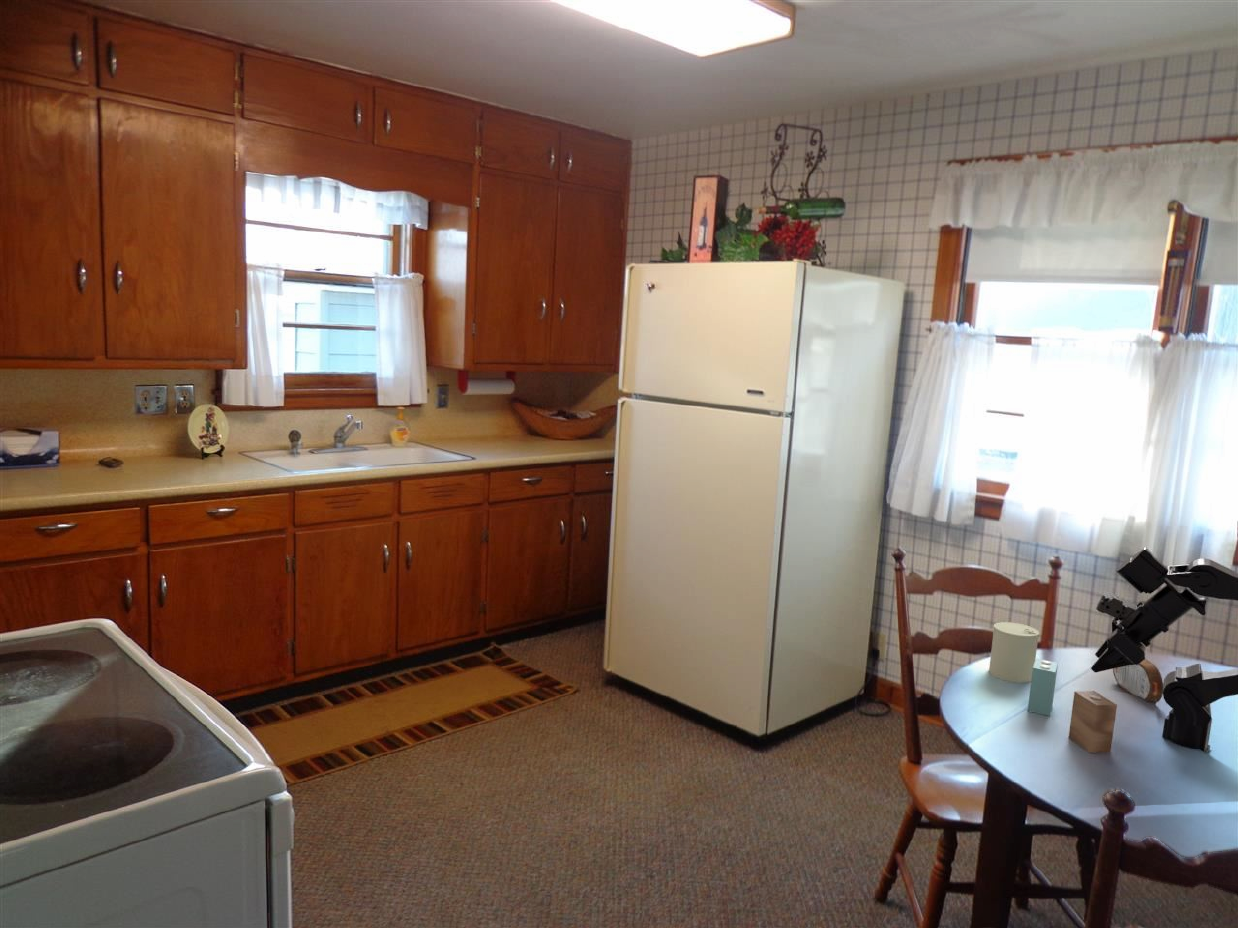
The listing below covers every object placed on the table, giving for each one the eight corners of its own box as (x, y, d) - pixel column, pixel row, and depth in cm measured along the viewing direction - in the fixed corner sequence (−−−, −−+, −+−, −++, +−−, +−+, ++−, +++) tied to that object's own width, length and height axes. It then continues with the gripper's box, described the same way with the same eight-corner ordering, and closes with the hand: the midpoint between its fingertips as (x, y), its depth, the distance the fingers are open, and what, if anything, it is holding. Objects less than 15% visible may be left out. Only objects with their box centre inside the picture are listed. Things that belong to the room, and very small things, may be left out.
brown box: (1088, 736, 164) (1094, 690, 162) (1110, 752, 158) (1117, 703, 156) (1068, 737, 163) (1074, 690, 162) (1090, 752, 157) (1096, 704, 156)
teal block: (1052, 705, 177) (1058, 662, 176) (1049, 715, 172) (1055, 671, 171) (1030, 700, 179) (1036, 657, 178) (1027, 710, 174) (1033, 666, 173)
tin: (1161, 709, 181) (1167, 670, 179) (1146, 708, 181) (1152, 669, 179) (1122, 680, 196) (1127, 644, 194) (1107, 680, 196) (1112, 643, 194)
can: (1027, 691, 187) (1034, 637, 185) (982, 679, 192) (988, 626, 191) (1037, 678, 194) (1044, 626, 192) (994, 667, 200) (999, 616, 198)
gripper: (1127, 569, 174) (1066, 619, 181) (1121, 590, 158) (1055, 644, 165) (1175, 611, 170) (1111, 661, 177) (1174, 637, 155) (1104, 690, 161)
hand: (1094, 663), depth 170 cm, fingers open, 9 cm apart
